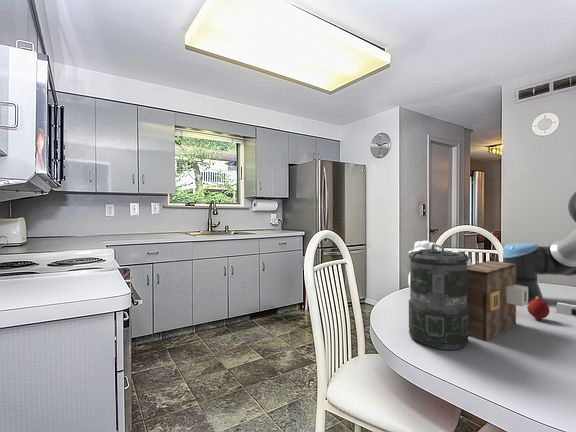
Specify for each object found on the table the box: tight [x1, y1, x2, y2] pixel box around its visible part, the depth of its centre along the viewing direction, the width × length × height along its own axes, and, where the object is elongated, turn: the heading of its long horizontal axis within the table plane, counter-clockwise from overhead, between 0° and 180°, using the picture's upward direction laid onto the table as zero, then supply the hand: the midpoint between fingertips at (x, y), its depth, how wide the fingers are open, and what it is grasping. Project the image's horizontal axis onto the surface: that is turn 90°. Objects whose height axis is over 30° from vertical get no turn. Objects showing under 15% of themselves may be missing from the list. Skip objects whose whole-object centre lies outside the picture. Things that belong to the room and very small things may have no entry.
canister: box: [408, 243, 470, 351], centre depth 90 cm, size 16×16×28 cm
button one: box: [506, 284, 529, 307], centre depth 97 cm, size 5×5×5 cm
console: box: [467, 260, 517, 342], centre depth 98 cm, size 22×8×20 cm, turn 125°
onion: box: [526, 297, 550, 321], centre depth 105 cm, size 6×6×8 cm
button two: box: [490, 290, 499, 311], centre depth 93 cm, size 5×5×5 cm
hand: (557, 307), depth 86 cm, fingers closed
